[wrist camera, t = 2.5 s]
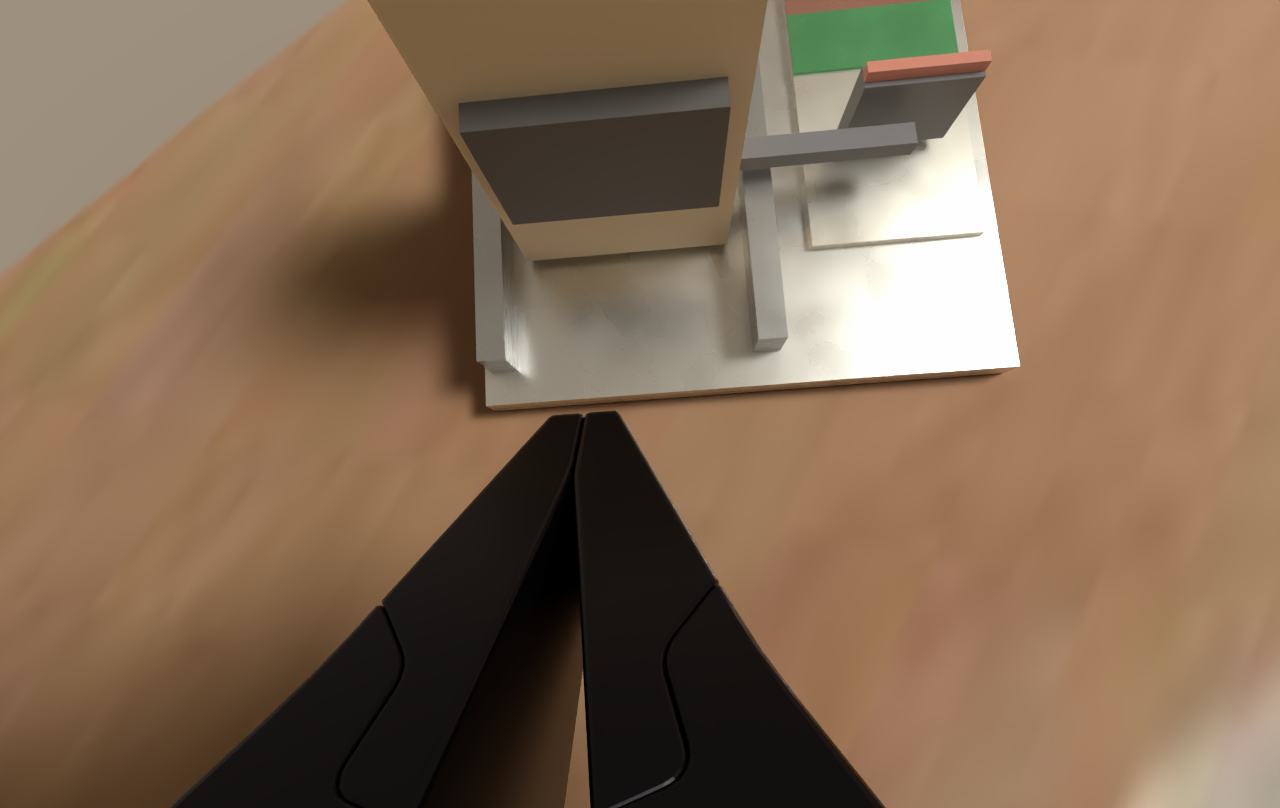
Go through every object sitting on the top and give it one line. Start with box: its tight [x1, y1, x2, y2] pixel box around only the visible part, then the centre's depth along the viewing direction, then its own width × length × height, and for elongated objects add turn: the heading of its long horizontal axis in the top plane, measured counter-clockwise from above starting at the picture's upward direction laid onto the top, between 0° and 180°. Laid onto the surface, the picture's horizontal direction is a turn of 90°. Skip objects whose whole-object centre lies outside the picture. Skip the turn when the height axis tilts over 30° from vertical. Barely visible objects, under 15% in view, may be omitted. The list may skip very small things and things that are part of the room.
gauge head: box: [368, 0, 918, 261], centre depth 15 cm, size 4×11×11 cm, turn 94°
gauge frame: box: [472, 0, 1020, 411], centre depth 20 cm, size 13×16×2 cm
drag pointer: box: [837, 50, 992, 140], centre depth 18 cm, size 1×3×3 cm, turn 93°
